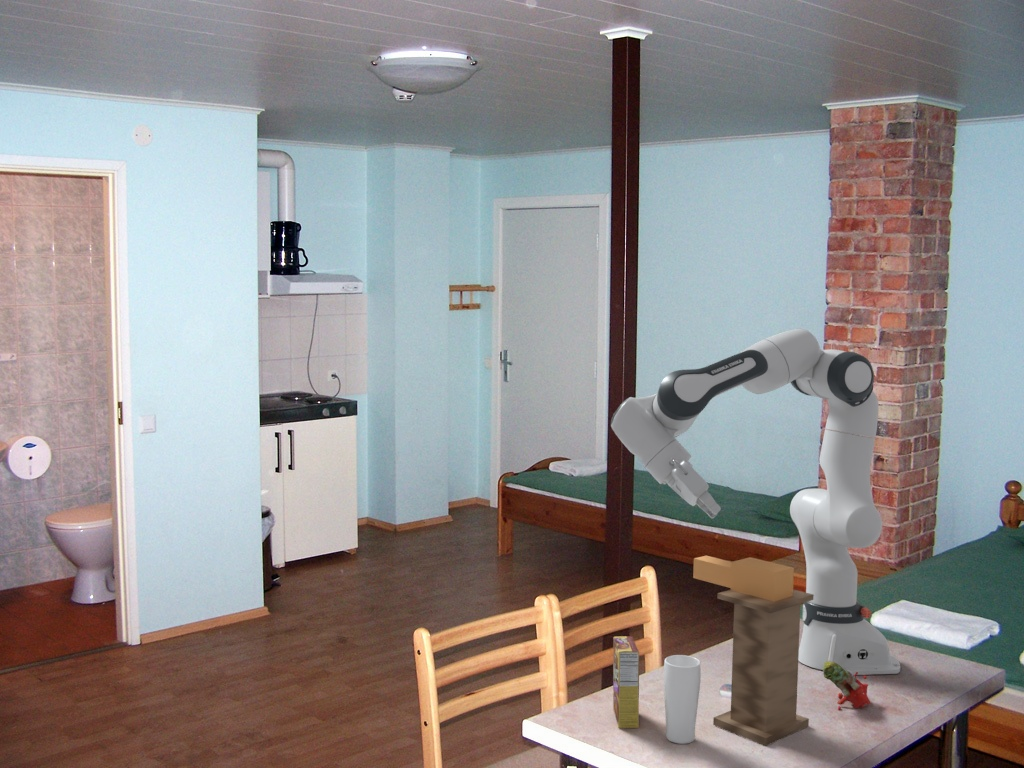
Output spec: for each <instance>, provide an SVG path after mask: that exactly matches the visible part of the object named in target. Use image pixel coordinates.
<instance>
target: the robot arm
mask: <svg viewBox="0 0 1024 768" xmlns="http://www.w3.org/2000/svg"><path fill="white" fill-rule="evenodd" d="M874 381H875V373H874V368H873V366H872V363H871V362H870V360H869V359H868V358H866V357H865V356H864V355H863V354H862V355H861V354H859V353H857V352H855V351H846V350H845V351H844V350H841V349H840V350H839V349H835V348H834V349H833V348H832V349H831V348H830V349H821V347H820V343H819V341H818V339H817V338H816V336H814V334H813V333H811V332H810V331H808V330H807V329H805V328H794V329H790V330H786V331H783V332H780V333H776V334H773V335H770V336H768V337H766V338H763V339H762V340H760V341H758V342H756V343H753V344H752V345H750V346H748V347H746V348H744V349H742V351H740V352H739V353H737V354H734V355H731V356H729V357H726V358H724V359H722V360H719V361H717V362H714V363H712V364H710V365H709V364H708V365H706V366H704V367H701V368H695V369H694V368H693V369H678V370H674V371H671V372H670V373H668V374H666V376H665V377H664V378H663V379H662V381H661V383H660V385H659V388H658V391H657V393H655V394H652V395H647V396H641V397H632V396H630V397H628V398H626V399H625V400H623V401H622V402H621V404H620V405H619V406H618V407H617V409H616V410H615V411H614V413H613V414H612V417H611V421H610V427H611V430H612V431H613V432H614V434H615V436H616V437H617V438H618V439H619V441H620V442H621V443H622V444H623V445H624V446H625V448H626V449H627V450H628V451H629V452H630V453H631V454H632V455H634V456H636V458H638V459H639V460H640V462H641V464H642V466H643V467H644V468H645V470H646V471H647V472H648V473H649V474H650V475H651V476H652V478H653V479H654V480H656V482H658V483H659V484H660V485H666V484H667V485H668V487H670V489H672V491H673V492H675V493H676V494H677V495H678V496H679V497H681V498H682V500H684V501H685V502H686V503H687V504H689V505H690V506H692V507H694V506H696V505H697V506H698V508H699V509H701V511H703V512H705V514H706V515H708V517H709V518H710V519H714V518H716V517H717V516H718V514H719V513H720V511H721V509H722V507H721V506H720V505H719V504H718V503H717V502H716V500H715V499H714V497H713V496H712V494H710V492H708V489H709V488H710V486H709V484H708V482H707V481H706V480H705V479H704V478H703V477H702V476H701V475H700V474H699V473H698V472H697V471H696V469H694V468H693V464H691V462H690V461H689V460H690V459H691V458H692V454H691V453H689V451H688V450H687V449H686V448H685V447H684V446H683V445H682V444H681V443H680V442H679V441H678V440H677V439H676V438H677V437H678V436H680V435H682V434H684V433H686V432H687V431H689V429H690V427H692V425H693V424H694V422H695V421H696V419H697V417H698V416H699V415H700V413H701V412H702V411H703V410H704V409H705V408H706V407H707V405H708V404H709V403H710V401H711V400H712V399H713V398H715V397H717V396H720V395H722V394H725V393H727V392H728V391H730V390H733V389H735V388H738V387H741V386H742V387H743V388H744V389H746V390H747V391H748V392H750V393H752V394H755V395H762V394H767V393H769V392H772V391H775V390H777V389H780V388H782V387H785V386H786V385H787V384H790V385H792V387H793V388H794V389H795V390H796V391H798V393H801V394H803V395H806V396H811V397H816V398H820V399H824V400H825V399H826V401H827V405H828V414H827V419H826V424H825V428H824V432H823V437H822V443H821V449H820V453H819V459H818V461H819V465H820V468H821V469H822V471H823V475H824V476H825V481H826V489H825V488H817V487H816V488H814V487H813V488H805V489H802V490H800V491H798V492H797V493H796V494H795V495H794V496H793V498H792V499H791V502H790V506H789V513H790V518H791V520H792V522H793V523H794V525H795V527H796V528H797V530H798V531H797V532H798V533H799V537H800V540H801V544H802V548H803V553H804V558H805V559H804V560H805V565H806V567H805V568H806V576H805V578H806V580H805V581H806V582H805V586H806V587H805V588H806V589H805V593H809V594H813V595H814V597H813V600H811V601H808V602H805V603H802V623H803V626H802V633H801V639H800V642H799V656H798V662H799V663H801V664H803V665H805V666H808V667H810V668H813V669H816V670H820V671H823V666H824V663H825V662H827V661H830V662H835V663H837V664H839V665H840V666H841V667H842V668H843V669H844V670H847V671H849V672H850V673H851V674H852V675H855V674H856V672H858V674H857V675H856V676H858V675H861V676H864V675H865V676H868V675H896V674H899V673H900V672H901V664H900V662H899V660H898V659H897V658H896V656H894V655H892V654H891V651H890V645H889V642H888V640H887V638H886V636H885V635H884V633H882V632H881V631H880V630H878V628H876V627H875V626H874V625H872V624H871V623H870V622H869V621H867V620H866V619H869V618H870V617H871V616H872V611H871V610H870V609H869V608H868V607H865V605H863V604H862V603H860V602H859V601H858V600H857V596H858V595H857V594H858V574H859V573H858V569H857V565H856V563H855V562H854V561H853V559H852V557H851V555H850V553H849V552H850V551H849V549H848V548H851V549H866V548H869V547H871V546H872V545H874V544H875V543H876V542H877V541H878V540H879V538H880V536H881V534H882V531H883V519H882V516H881V514H880V512H879V510H878V509H877V508H876V505H875V502H874V498H873V494H872V487H871V485H872V484H871V467H872V466H871V465H872V459H873V453H874V449H875V442H876V441H875V440H876V437H877V431H878V423H879V422H878V420H879V400H878V396H877V395H876V393H875V392H874Z"/></svg>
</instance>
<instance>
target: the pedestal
mask: <svg viewBox="0 0 1024 768" xmlns="http://www.w3.org/2000/svg"><path fill="white" fill-rule="evenodd" d="M813 597H814V595H813V594H809V593H806V591H801V590H797V589H794V588H793V596H791V597H788V598H785V599H781V600H778V601H775V602H774V601H770V600H766V599H763V598H759V597H755V596H752V595H748V594H744V593H741V592H737V591H733V590H731V589H728V590H725V591H721V592H718V593H717V597H716V599H718V600H722V601H724V602H725V601H726V602H729V603H732V604H733V629H732V632H733V633H732V634H733V635H732V638H733V639H732V661H731V663H732V664H731V668H732V669H731V689H730V690H731V693H730V694H731V695H730V710H729V711H726V712H723V713H721V714H719V715H717V716H715V717H713V722H712V723H713V726H714V725H715V727H717V726H718V727H717V728H719V727H720V728H719V729H722V728H723V729H722V730H724V729H725V730H724V731H727V732H729V731H730V733H733V734H734V733H735V735H737V736H739V735H740V736H739V737H742V738H744V739H746V740H749V741H751V742H755V743H757V744H759V745H762V746H765V747H767V746H769V745H771V744H773V743H776V742H778V741H779V740H782V739H785V738H787V737H789V736H790V735H793V734H795V733H798V732H799V731H801V730H804V729H806V728H808V727H809V723H810V722H809V721H810V719H809V718H807V717H805V716H802V715H799V714H797V707H798V706H797V704H798V682H799V678H798V677H799V661H798V656H799V646H800V629H801V628H800V626H801V625H800V622H801V605H803V604H804V603H805V602H808V601H811V600H813Z"/></svg>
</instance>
